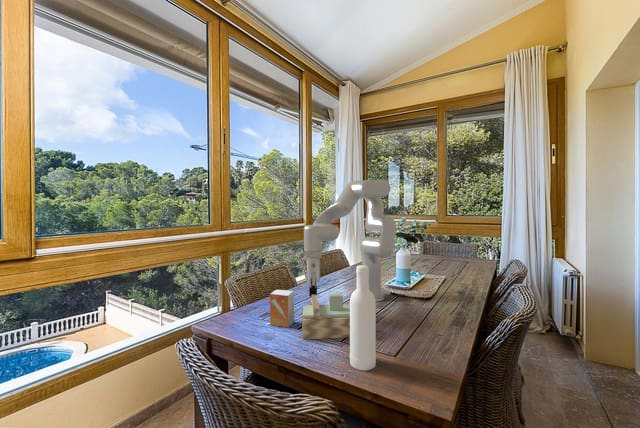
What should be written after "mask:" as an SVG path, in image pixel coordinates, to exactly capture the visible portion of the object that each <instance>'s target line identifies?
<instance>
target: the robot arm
mask: <svg viewBox="0 0 640 428" xmlns="http://www.w3.org/2000/svg"><path fill="white" fill-rule="evenodd" d="M390 192H391V184H390V182H389V181H388V180H386V179H365V180H353V181H350V182H349V183H347V185H346V186H345V187H344V189H343V190H342V191H341V193H340V195H339V197H338V198H337V199H336V200H335V202H334V203H333V204H332V205H330V206H328V207H327V208H326V209H325V210H323V211H322V212H321V213H319V215H318V216H317V217H316V218H315V220H314V222H313V224H308V225H304V227H303V258H304V259H306V273H307V274H306V275H307V280H308V282H309V287H308V288H309V298H312V295H317V296H318V287H317V283H319V282H321V269H320V268H321V267H320V265H321V264H320V259H321V258H322V242H333V241H336V240H337V239H338V238H339V236H340V230H339V228H338V227H337V226H336V225H335V224H332V223H333V222H335V221H336V220H338V219H342V218H344V217H346V216H348V215H349V214H350V213H352V211H353V209H354V208H355V206H356V205H357V203H358V202H359V200H361V199H364V201H365V202H366V214H365V225H364V226H365V231H366V232H367V233H369V234H372V235H378V236H380V237H378V236H369V235H368V236H364V237H363V238H361V241H360V243H359V249H360V255H361V265H365V266H368V267H369V290H370V291H371V292H372V293H373V294H374V297H375V300H376V303H377V302H381V301H384V300H385V295H386V296H387V295H388V296H389V295H391V291H390V290H387V289H382V264H381V259H380V258H385V259H388V258H390V257H391V256H392V254H393V253H394V250H395V249H394V248H395V242H396V241H395V240H396V234H397V233H396V231H397V229H396V228H397V226H396V221H395V219H394V218H393V217H391V216H390V215H384V211H385V210H384V208H385V205H384V202H383V200H382V199H381V198H385V197H387V196H388V195H389V194H390Z"/></svg>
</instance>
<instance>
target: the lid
mask: <svg viewBox="0 0 640 428" xmlns="http://www.w3.org/2000/svg"><path fill="white" fill-rule="evenodd" d="M302 308H303V319H311V315H313V308H312V305H309V304H307V305H306V304H304V305H302V306H301V309H302ZM319 315H322V318H336V317H350V303H344V295H343V293H329V294H328V304H319Z"/></svg>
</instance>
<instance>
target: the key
mask: <svg viewBox="0 0 640 428" xmlns="http://www.w3.org/2000/svg"><path fill="white" fill-rule="evenodd" d="M318 302H319V300H318V294H317V295H312V297H311V303H312V308H313V315H314V317H319V305H320V304H319V305H318Z"/></svg>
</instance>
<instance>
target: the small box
mask: <svg viewBox="0 0 640 428" xmlns="http://www.w3.org/2000/svg"><path fill="white" fill-rule="evenodd" d="M269 311H270V313H269V320H270V323H269V325H270V326H274V327H275V326H276V327H283V328H287V329H288V328H290V327H291V326H292V325H293V323H294V322H295V291H294V290H289V289H287V290H286V289H275V290H273V291H272V292H271V293H269Z"/></svg>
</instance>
